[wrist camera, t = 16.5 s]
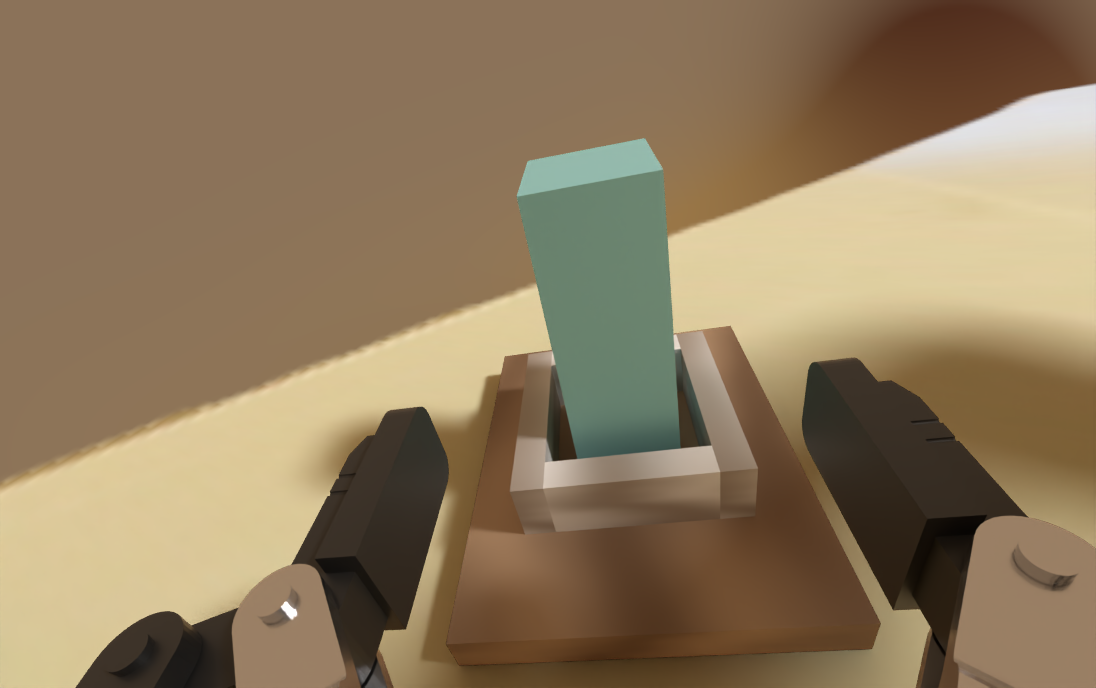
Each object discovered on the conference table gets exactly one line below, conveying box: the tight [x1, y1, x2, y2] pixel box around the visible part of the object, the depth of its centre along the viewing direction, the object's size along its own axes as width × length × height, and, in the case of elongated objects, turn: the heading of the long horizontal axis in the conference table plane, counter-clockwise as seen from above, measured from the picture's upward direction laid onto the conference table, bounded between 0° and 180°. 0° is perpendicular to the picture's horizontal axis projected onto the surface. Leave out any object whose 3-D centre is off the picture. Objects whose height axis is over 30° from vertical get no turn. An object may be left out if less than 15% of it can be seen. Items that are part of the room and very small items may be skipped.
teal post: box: [517, 138, 681, 459], centre depth 18 cm, size 4×4×12 cm
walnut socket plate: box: [446, 326, 881, 666], centre depth 21 cm, size 13×16×4 cm
